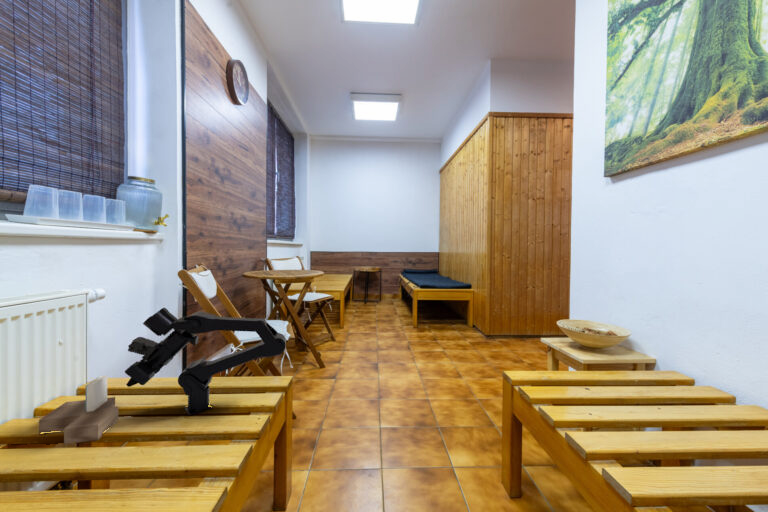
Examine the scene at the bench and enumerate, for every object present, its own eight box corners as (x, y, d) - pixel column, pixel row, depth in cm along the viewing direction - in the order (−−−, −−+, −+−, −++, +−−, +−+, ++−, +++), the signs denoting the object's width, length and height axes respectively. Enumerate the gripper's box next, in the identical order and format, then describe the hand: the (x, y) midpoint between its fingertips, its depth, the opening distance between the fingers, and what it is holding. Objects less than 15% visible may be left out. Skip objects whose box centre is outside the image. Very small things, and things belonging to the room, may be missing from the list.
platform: (130, 408, 94) (130, 395, 94) (98, 439, 79) (98, 424, 79) (66, 415, 90) (66, 401, 90) (17, 450, 74) (17, 434, 74)
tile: (107, 400, 91) (107, 375, 91) (93, 411, 85) (93, 384, 85) (99, 401, 91) (99, 376, 91) (85, 412, 84) (85, 385, 84)
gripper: (162, 321, 100) (121, 357, 97) (134, 336, 82) (83, 381, 79) (189, 343, 103) (150, 379, 100) (167, 363, 85) (119, 407, 82)
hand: (128, 385), depth 90 cm, fingers closed
